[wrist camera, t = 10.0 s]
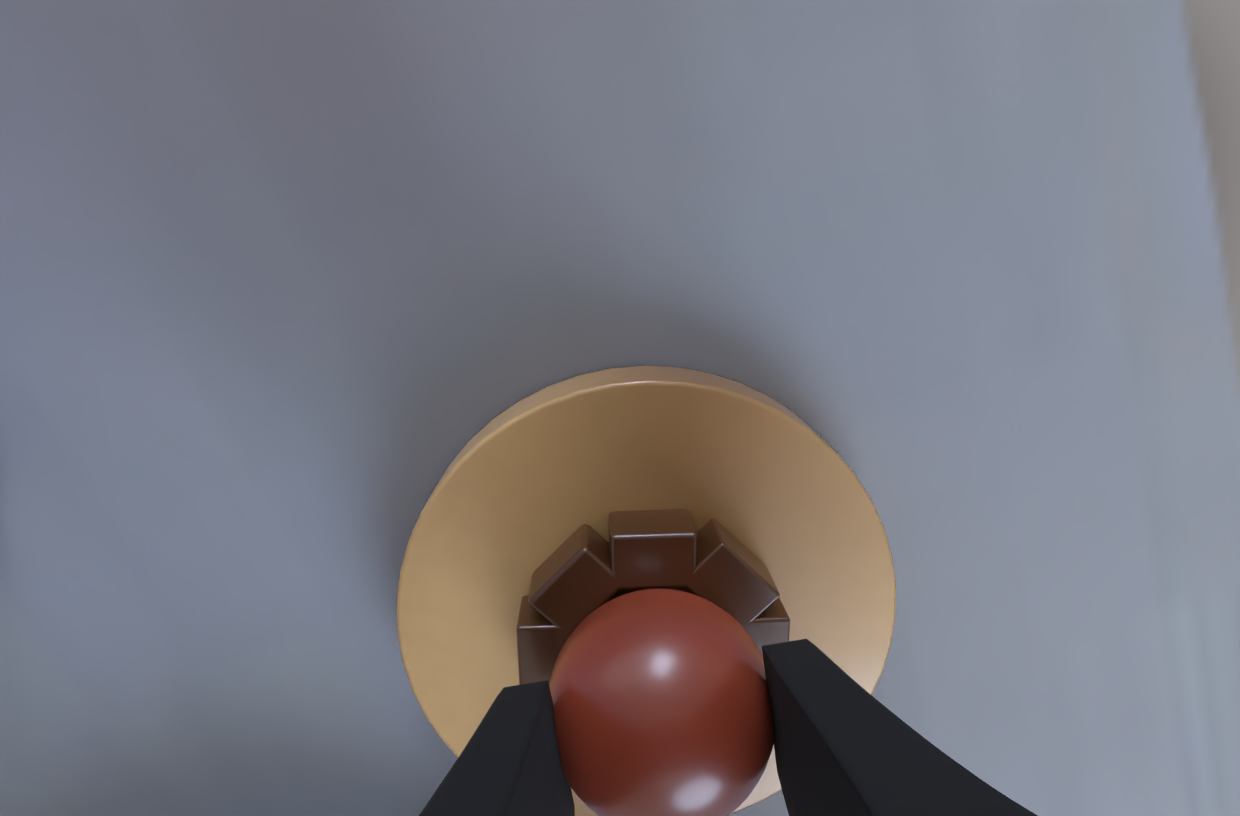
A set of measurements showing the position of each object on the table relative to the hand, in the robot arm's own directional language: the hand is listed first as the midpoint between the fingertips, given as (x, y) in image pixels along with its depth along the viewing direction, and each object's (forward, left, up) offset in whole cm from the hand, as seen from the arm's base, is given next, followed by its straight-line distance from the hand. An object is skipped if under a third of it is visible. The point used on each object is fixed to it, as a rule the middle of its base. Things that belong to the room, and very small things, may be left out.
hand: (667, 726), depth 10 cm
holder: (0, 0, -4) cm, 4 cm away
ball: (0, 0, 0) cm, 1 cm away
